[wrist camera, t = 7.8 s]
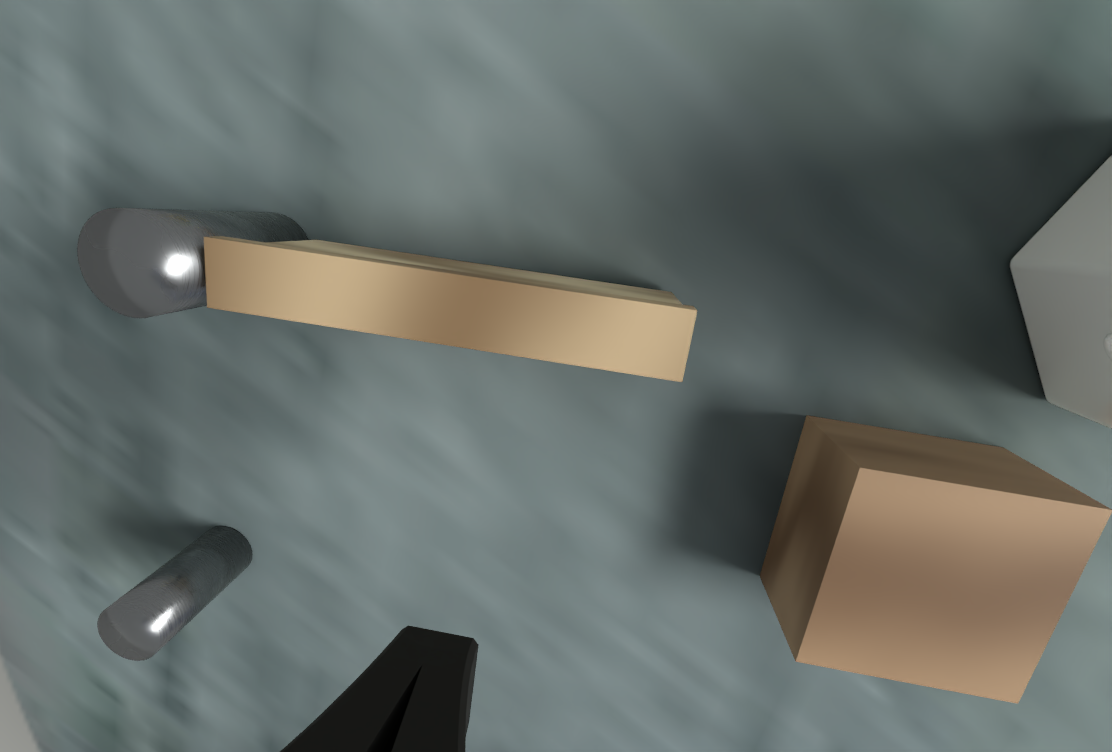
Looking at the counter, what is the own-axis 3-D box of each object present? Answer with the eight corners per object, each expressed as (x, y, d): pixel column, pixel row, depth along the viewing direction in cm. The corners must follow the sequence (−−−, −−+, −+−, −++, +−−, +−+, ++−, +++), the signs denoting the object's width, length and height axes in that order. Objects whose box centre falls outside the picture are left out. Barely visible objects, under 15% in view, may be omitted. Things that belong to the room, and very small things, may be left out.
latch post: (253, 576, 21) (162, 665, 17) (203, 567, 21) (100, 653, 17) (251, 531, 20) (156, 612, 16) (201, 522, 20) (94, 600, 16)
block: (933, 604, 19) (1018, 703, 15) (758, 572, 19) (795, 661, 15) (998, 445, 17) (1112, 509, 13) (804, 413, 17) (859, 467, 13)
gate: (316, 284, 17) (207, 307, 12) (316, 232, 17) (203, 237, 12) (662, 337, 16) (682, 382, 12) (672, 285, 16) (697, 310, 11)
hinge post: (311, 294, 18) (182, 325, 12) (241, 283, 18) (83, 309, 12) (312, 218, 17) (176, 215, 12) (239, 207, 17) (70, 200, 12)
